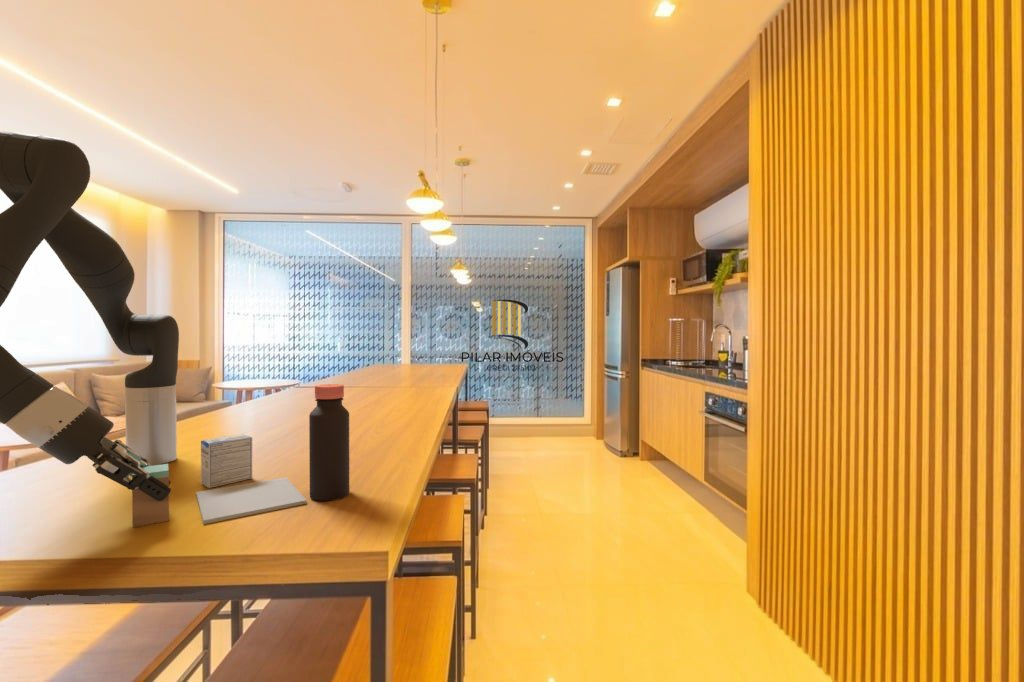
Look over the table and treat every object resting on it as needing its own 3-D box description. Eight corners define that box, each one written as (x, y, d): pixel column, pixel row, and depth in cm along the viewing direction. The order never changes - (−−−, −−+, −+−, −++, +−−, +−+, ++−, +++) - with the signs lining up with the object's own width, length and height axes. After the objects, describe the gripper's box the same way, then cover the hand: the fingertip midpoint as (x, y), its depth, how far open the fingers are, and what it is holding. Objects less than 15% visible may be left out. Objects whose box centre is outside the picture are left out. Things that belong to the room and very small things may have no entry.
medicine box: (243, 474, 99) (243, 433, 99) (253, 479, 96) (252, 436, 96) (200, 484, 93) (200, 439, 93) (209, 489, 90) (208, 443, 90)
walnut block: (133, 518, 76) (133, 468, 76) (168, 511, 79) (167, 463, 79) (132, 527, 72) (132, 475, 72) (169, 520, 75) (168, 470, 75)
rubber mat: (196, 495, 87) (196, 492, 87) (286, 480, 96) (286, 477, 96) (203, 524, 74) (203, 520, 74) (306, 503, 83) (306, 500, 83)
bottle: (300, 499, 85) (300, 386, 85) (327, 487, 91) (327, 382, 91) (331, 503, 83) (331, 388, 82) (357, 491, 89) (357, 384, 89)
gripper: (80, 411, 65) (188, 483, 73) (91, 399, 76) (183, 462, 84) (26, 456, 62) (145, 526, 69) (45, 436, 73) (146, 498, 81)
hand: (165, 491), depth 77 cm, fingers closed on walnut block, 4 cm apart
